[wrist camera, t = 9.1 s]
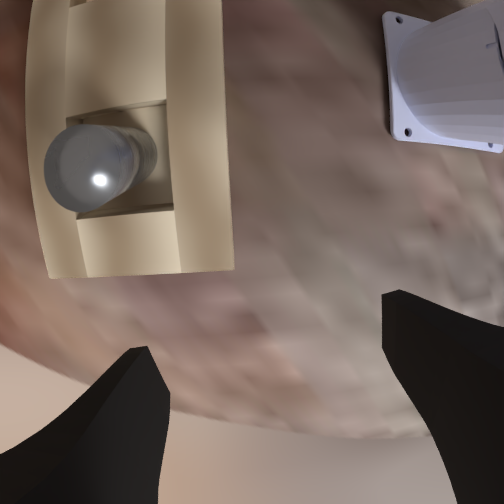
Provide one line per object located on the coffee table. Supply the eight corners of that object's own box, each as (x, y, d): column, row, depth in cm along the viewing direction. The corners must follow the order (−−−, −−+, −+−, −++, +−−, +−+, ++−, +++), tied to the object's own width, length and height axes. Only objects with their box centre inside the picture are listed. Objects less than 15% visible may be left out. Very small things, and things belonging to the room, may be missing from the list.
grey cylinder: (156, 124, 15) (117, 117, 9) (159, 183, 16) (123, 208, 10) (101, 131, 14) (40, 132, 9) (104, 187, 15) (49, 215, 10)
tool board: (220, -90, 11) (219, -116, 8) (233, 248, 18) (234, 270, 15) (70, -58, 10) (52, -77, 7) (72, 259, 18) (49, 278, 15)
